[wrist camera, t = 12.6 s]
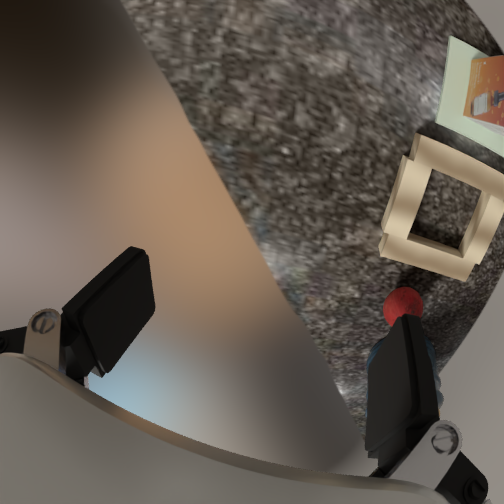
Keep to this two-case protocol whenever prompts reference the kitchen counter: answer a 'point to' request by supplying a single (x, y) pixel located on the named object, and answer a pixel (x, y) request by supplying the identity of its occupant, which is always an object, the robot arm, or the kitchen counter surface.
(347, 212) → the kitchen counter surface
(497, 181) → the wooden square frame
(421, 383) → the robot arm
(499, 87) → the small box
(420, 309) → the red round piece
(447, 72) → the pad
